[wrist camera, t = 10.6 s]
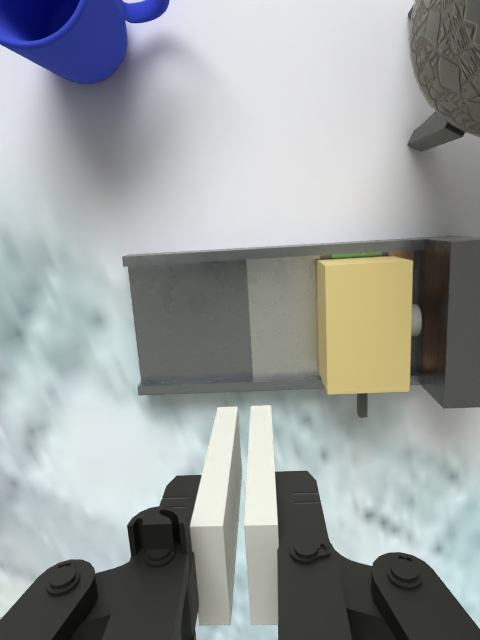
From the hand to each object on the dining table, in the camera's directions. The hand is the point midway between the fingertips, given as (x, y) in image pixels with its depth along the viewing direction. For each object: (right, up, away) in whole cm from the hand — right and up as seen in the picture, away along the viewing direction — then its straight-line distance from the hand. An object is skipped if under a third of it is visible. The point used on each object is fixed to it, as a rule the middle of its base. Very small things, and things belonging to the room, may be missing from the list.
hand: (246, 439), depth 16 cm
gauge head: (+10, +4, +20) cm, 23 cm away
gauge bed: (+4, +5, +21) cm, 22 cm away
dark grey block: (+16, +5, +20) cm, 26 cm away
